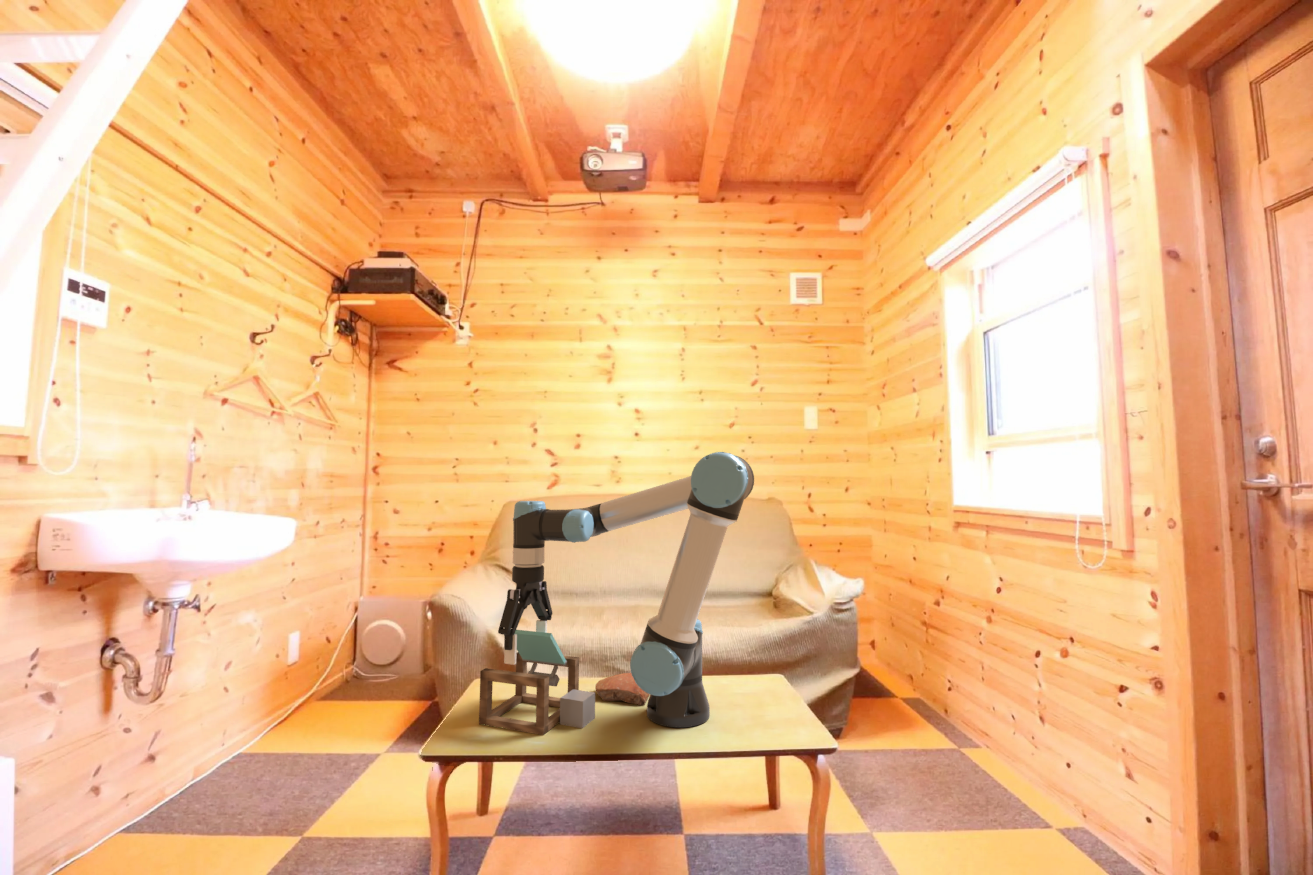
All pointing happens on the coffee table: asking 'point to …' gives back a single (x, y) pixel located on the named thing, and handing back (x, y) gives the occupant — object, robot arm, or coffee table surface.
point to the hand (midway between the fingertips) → (526, 655)
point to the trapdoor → (540, 652)
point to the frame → (523, 696)
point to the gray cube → (577, 708)
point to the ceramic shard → (621, 689)
